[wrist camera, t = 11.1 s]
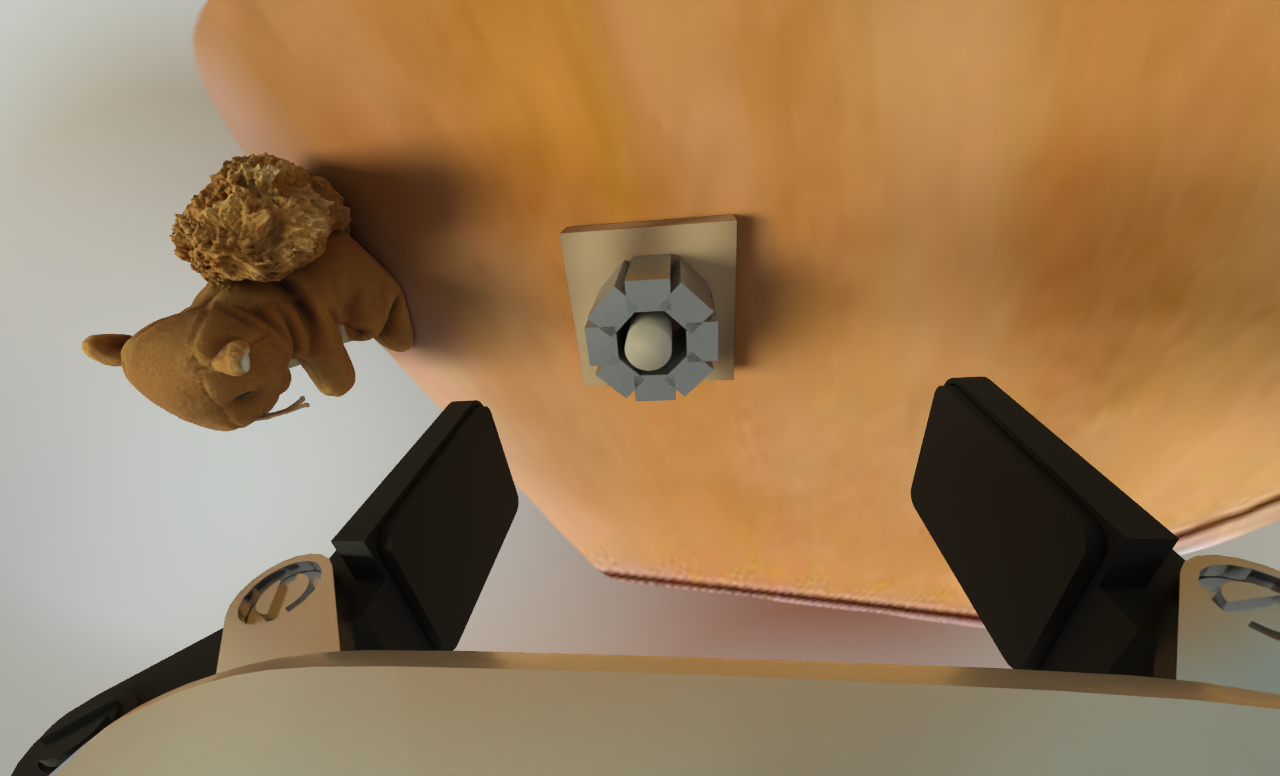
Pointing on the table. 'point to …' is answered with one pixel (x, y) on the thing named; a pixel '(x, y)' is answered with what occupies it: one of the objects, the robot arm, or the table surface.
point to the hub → (645, 291)
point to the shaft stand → (693, 240)
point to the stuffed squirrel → (261, 300)
